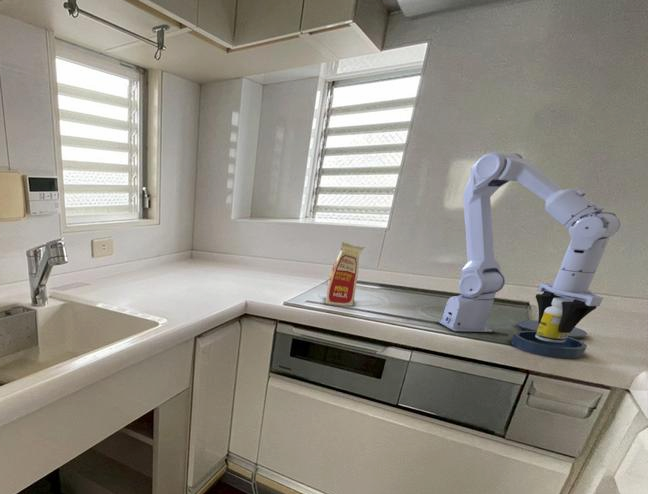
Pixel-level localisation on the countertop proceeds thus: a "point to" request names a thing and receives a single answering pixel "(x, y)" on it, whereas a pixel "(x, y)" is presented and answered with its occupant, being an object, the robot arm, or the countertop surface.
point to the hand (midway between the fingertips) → (553, 328)
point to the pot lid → (533, 326)
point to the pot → (548, 346)
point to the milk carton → (344, 276)
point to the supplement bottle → (552, 323)
